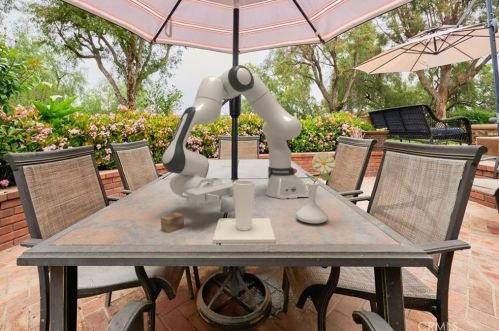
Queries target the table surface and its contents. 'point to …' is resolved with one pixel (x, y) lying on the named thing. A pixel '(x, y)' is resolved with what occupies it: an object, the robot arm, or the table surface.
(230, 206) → the grey plastic tub
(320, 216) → the flower in vase
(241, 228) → the drinking glass
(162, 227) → the walnut block
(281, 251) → the table surface
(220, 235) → the cream tile
